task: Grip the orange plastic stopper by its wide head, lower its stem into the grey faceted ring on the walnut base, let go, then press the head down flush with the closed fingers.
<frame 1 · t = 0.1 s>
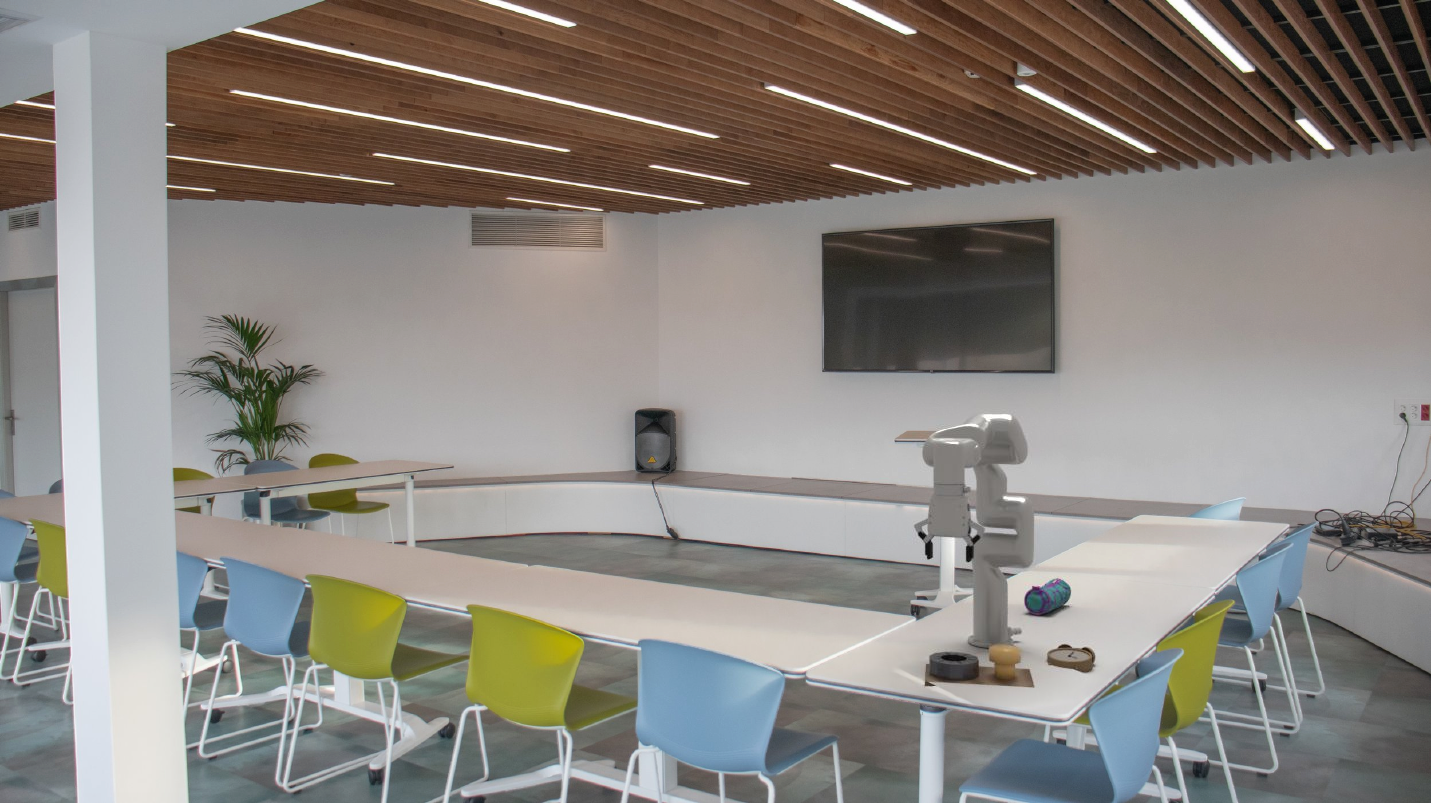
hand: (949, 560, 257), 31 cm above the table, tool pointing down, fingers open, 9 cm apart
alarm clock: (1071, 666, 274), on the table
pencil case: (1047, 611, 339), on the table
mount: (978, 679, 262), on the table
cap: (1004, 676, 261), point 1 cm above the table, touching mount
grey faceted ring: (953, 678, 263), resting on mount
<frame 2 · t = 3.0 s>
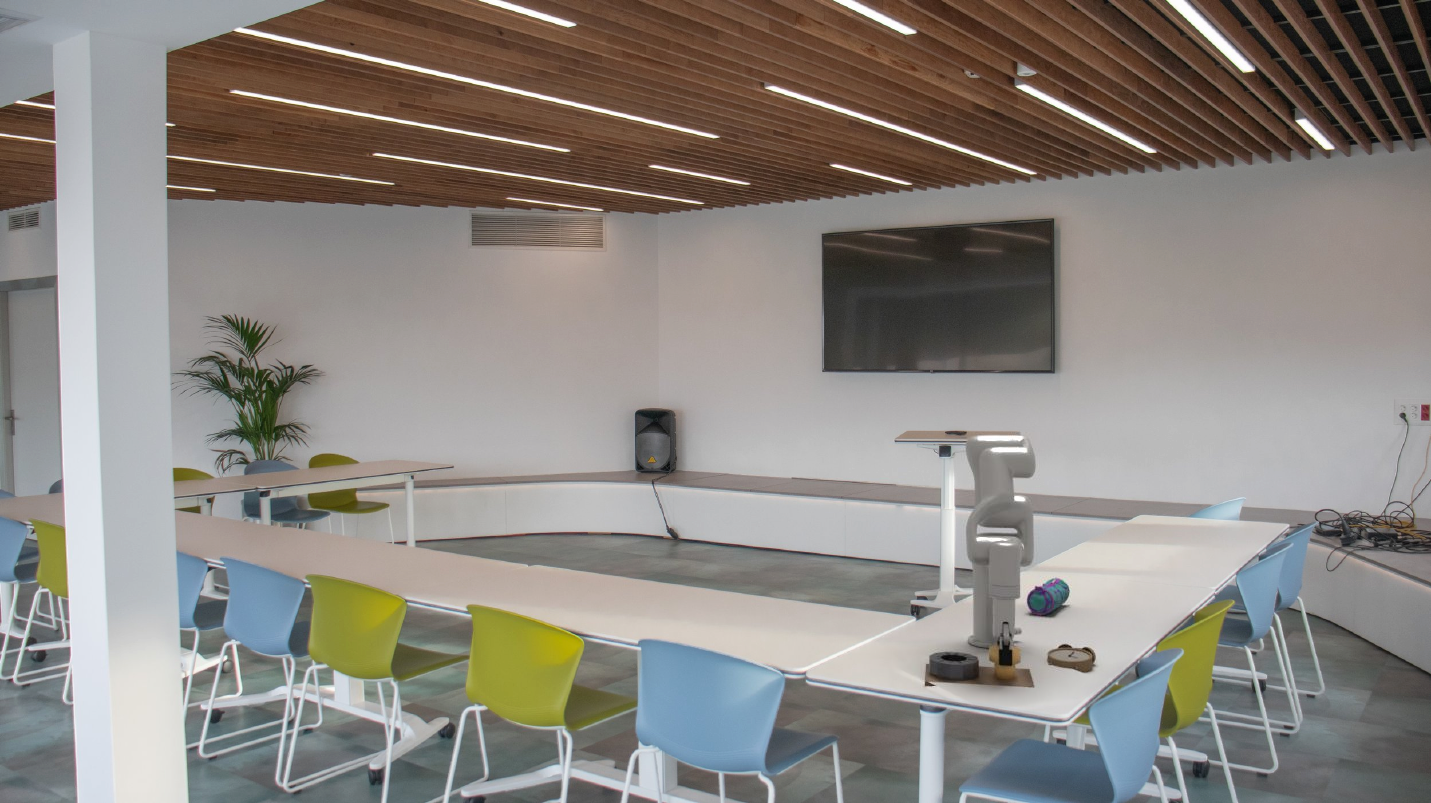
hand: (1004, 660, 261), 5 cm above the table, tool pointing down, fingers closed on cap, 7 cm apart
cap: (1004, 676, 261), point 1 cm above the table, touching gripper, mount
everything else where it was.
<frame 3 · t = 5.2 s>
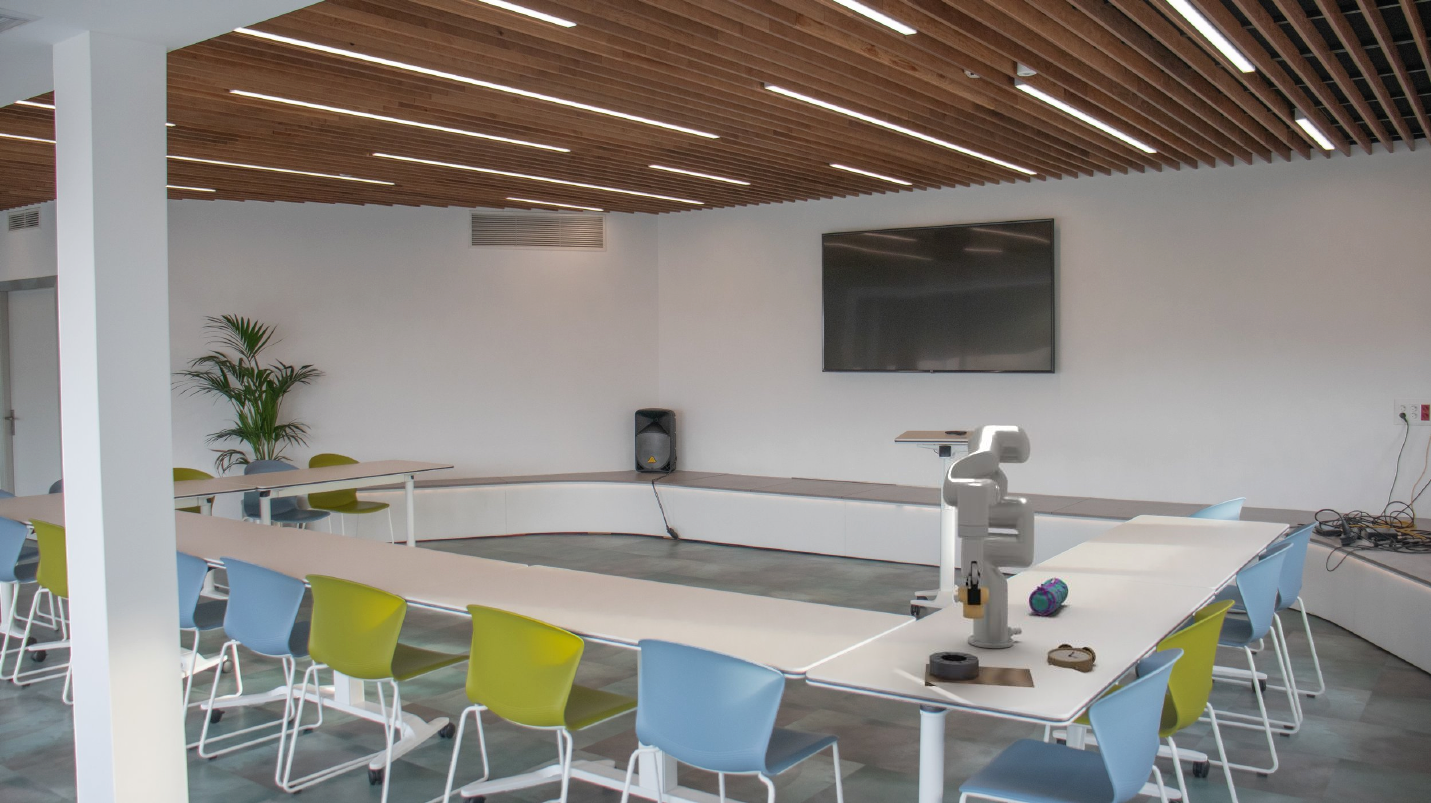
hand: (973, 600, 262), 20 cm above the table, tool pointing down, fingers closed on cap, 7 cm apart
cap: (973, 616, 262), point 16 cm above the table, touching gripper
everything else where it was.
when the fingers open (6 cm above the table, at t = 7.9 s): cap stays where it is, resting on grey faceted ring, mount.
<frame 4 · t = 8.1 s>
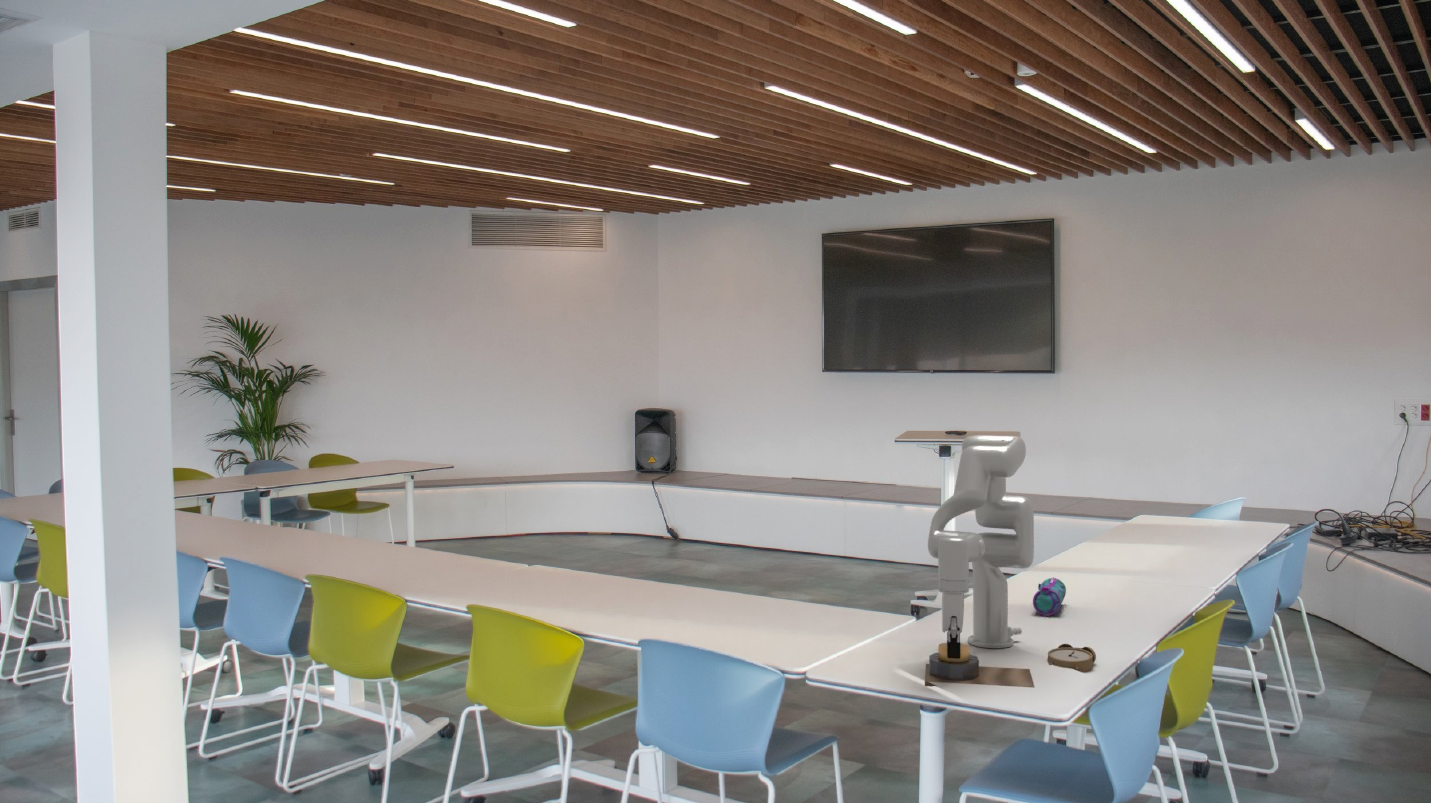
hand: (953, 652, 263), 6 cm above the table, tool pointing down, fingers open, 9 cm apart
cap: (953, 673, 263), point 1 cm above the table, touching grey faceted ring, mount
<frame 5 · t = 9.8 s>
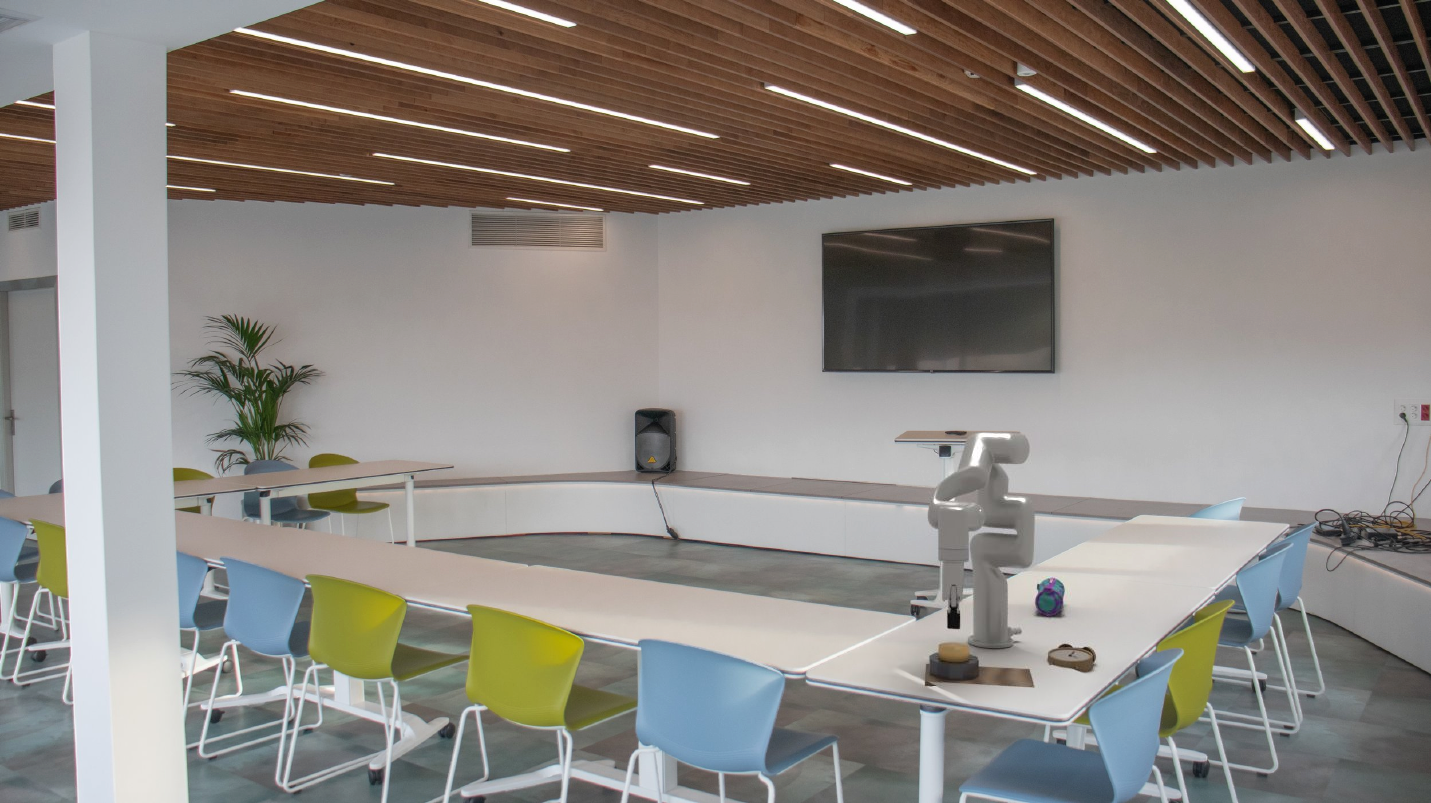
hand: (953, 626, 263), 13 cm above the table, tool pointing down, fingers closed
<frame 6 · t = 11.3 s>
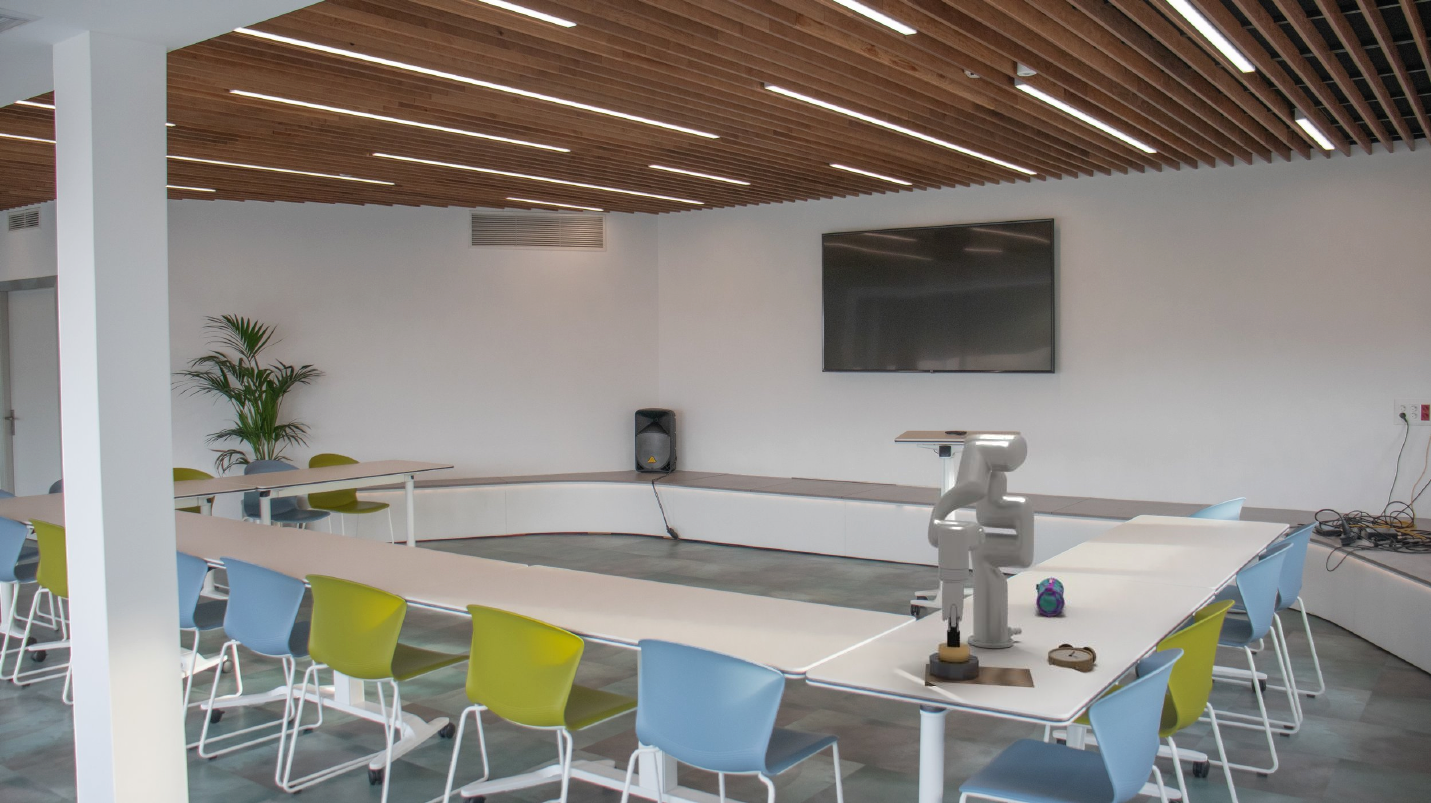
hand: (953, 646, 263), 8 cm above the table, tool pointing down, fingers closed
cap: (953, 673, 263), point 1 cm above the table, touching grey faceted ring, gripper, mount
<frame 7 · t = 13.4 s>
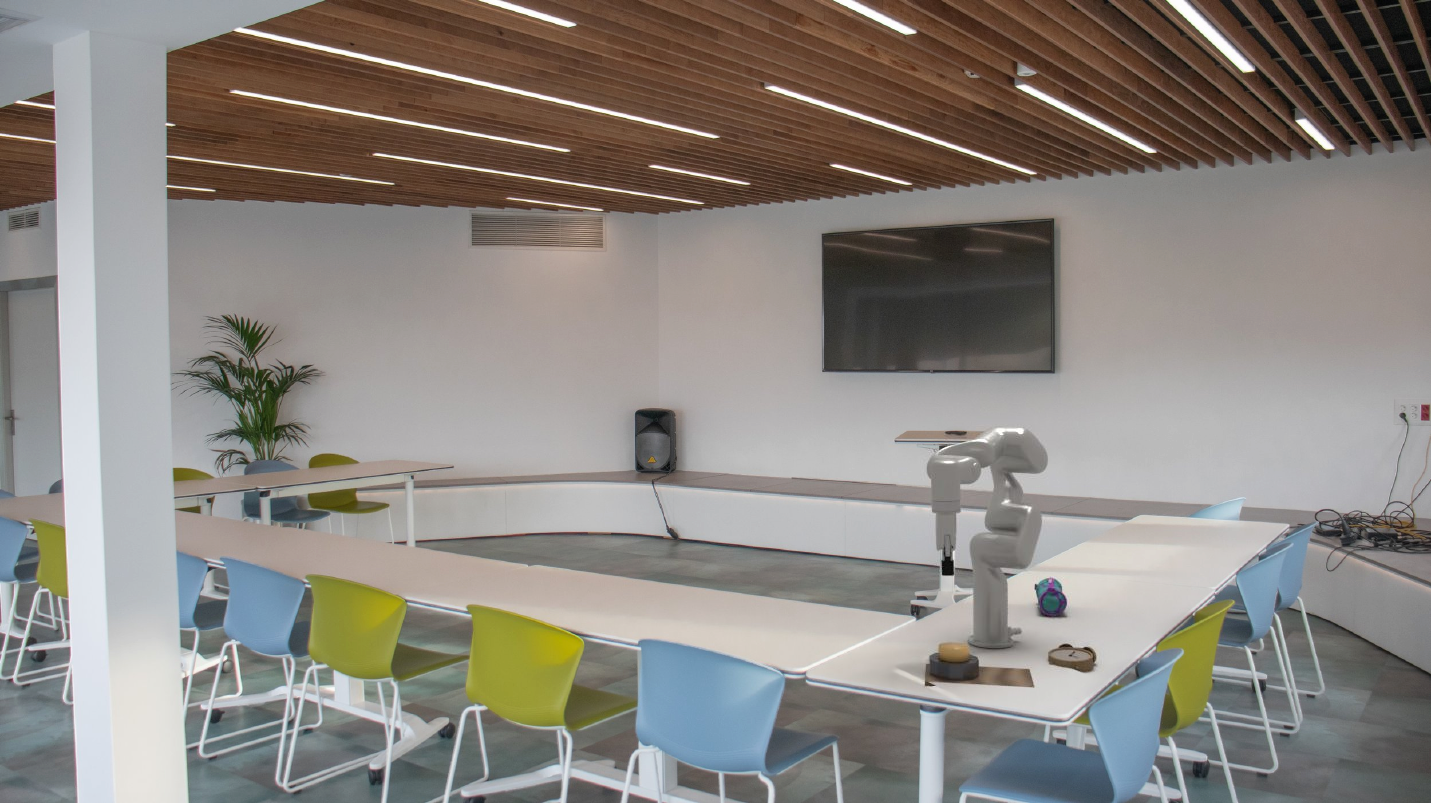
hand: (947, 574, 276), 24 cm above the table, tool pointing down, fingers closed
cap: (953, 673, 263), point 1 cm above the table, touching grey faceted ring, mount
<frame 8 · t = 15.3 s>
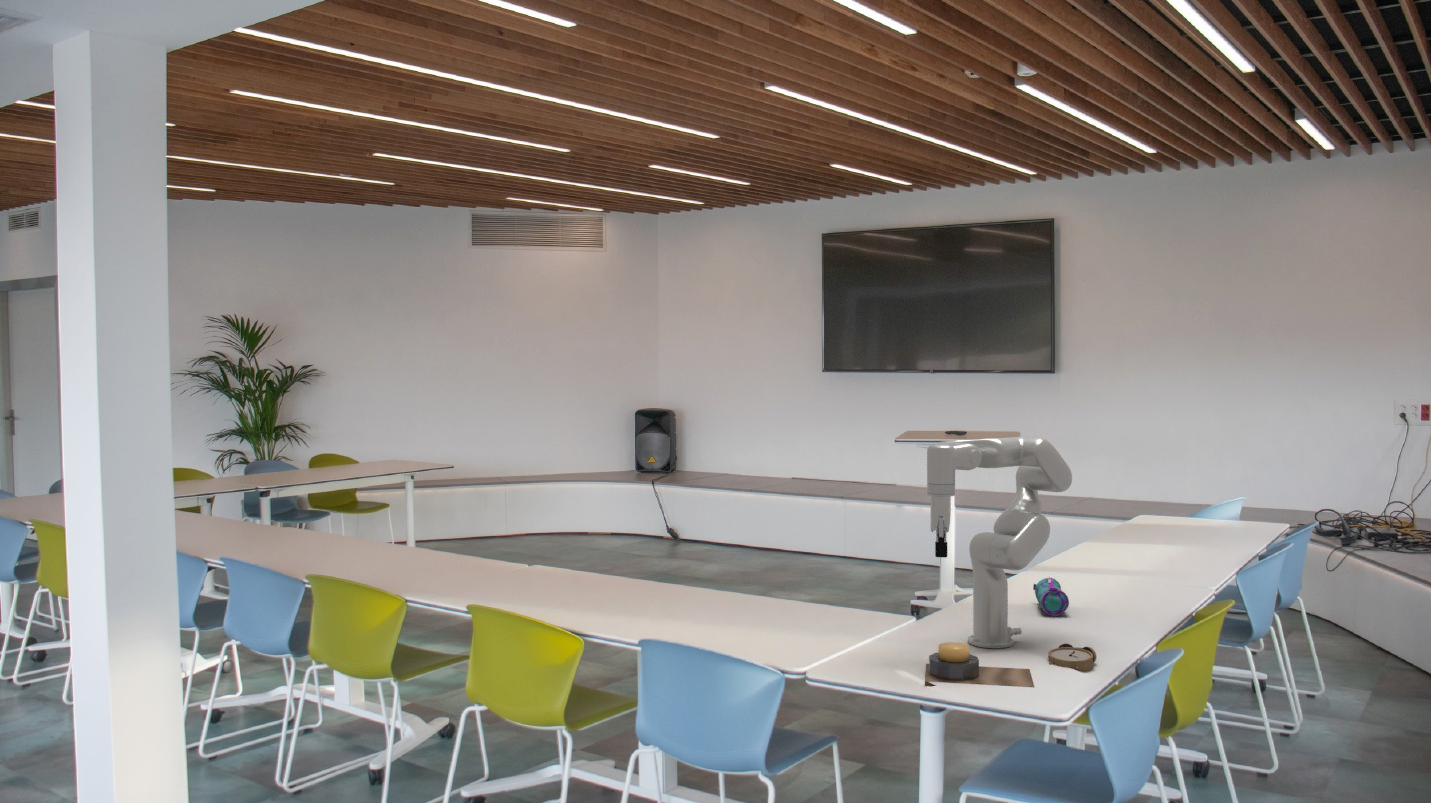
hand: (941, 556, 285), 27 cm above the table, tool pointing down, fingers closed
at the end: cap 0.0 cm off-centre on the grey faceted ring, point 1.2 cm above the grey faceted ring's base; cap tilted 0°; the gripper is holding nothing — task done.
